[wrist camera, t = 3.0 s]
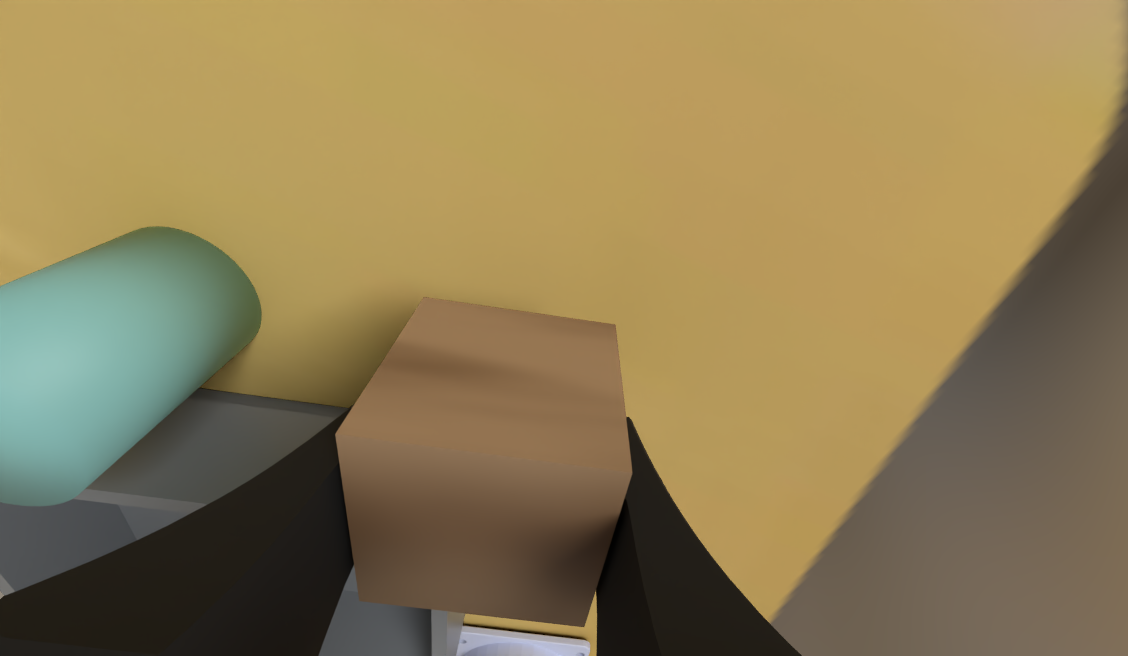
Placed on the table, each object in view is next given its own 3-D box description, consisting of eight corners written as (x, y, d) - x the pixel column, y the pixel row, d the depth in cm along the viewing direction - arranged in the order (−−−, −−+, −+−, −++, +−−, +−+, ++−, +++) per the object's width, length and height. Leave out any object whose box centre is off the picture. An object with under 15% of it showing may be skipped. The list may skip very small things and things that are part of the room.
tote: (468, 599, 26) (445, 707, 22) (152, 562, 26) (65, 666, 21) (479, 425, 19) (449, 534, 15) (48, 368, 19) (-111, 464, 14)
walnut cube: (584, 459, 15) (584, 626, 11) (425, 438, 15) (359, 601, 10) (615, 324, 12) (632, 472, 8) (423, 296, 12) (334, 433, 8)
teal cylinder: (272, 360, 18) (118, 517, 12) (140, 342, 18) (-84, 492, 12) (245, 238, 16) (32, 361, 10) (90, 216, 15) (-229, 326, 9)
